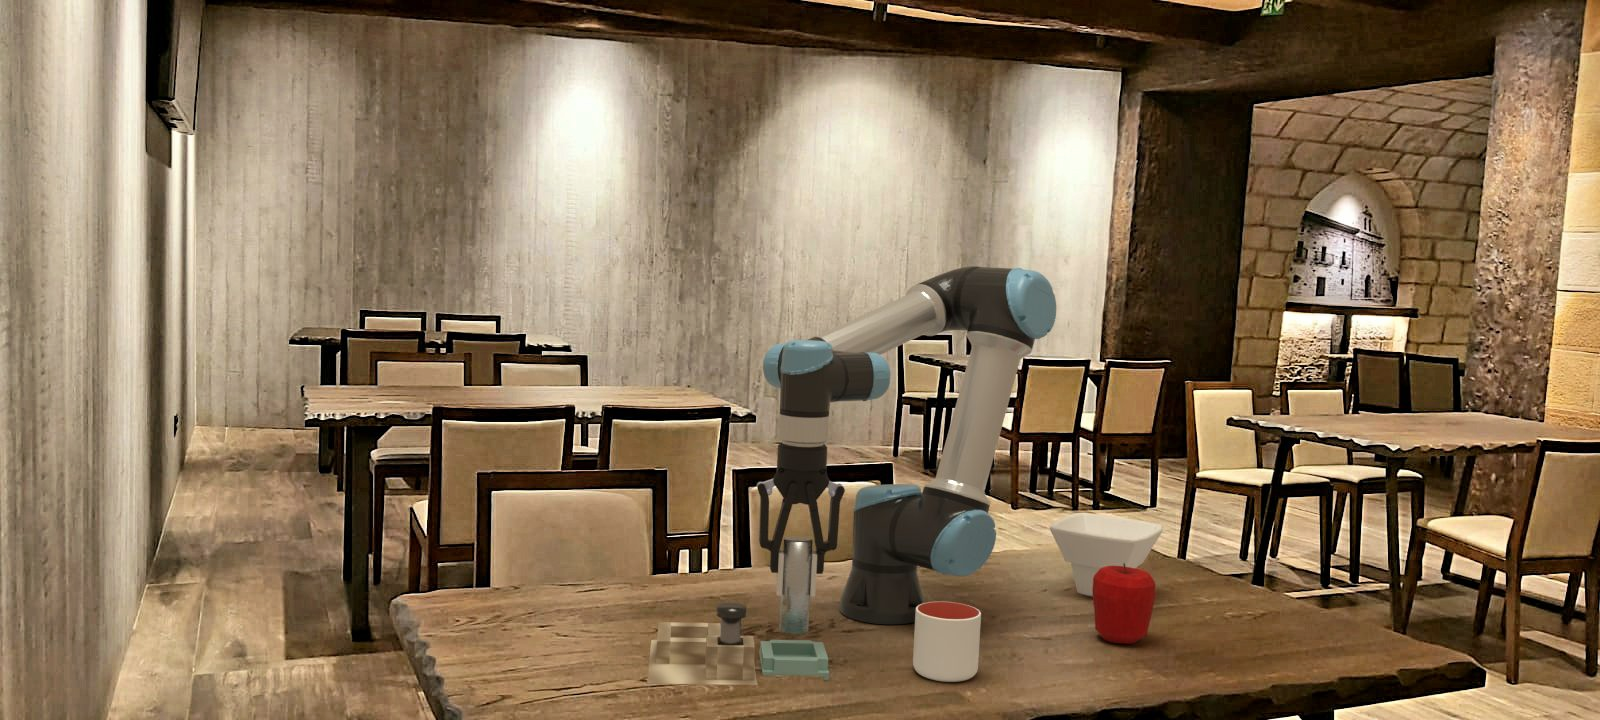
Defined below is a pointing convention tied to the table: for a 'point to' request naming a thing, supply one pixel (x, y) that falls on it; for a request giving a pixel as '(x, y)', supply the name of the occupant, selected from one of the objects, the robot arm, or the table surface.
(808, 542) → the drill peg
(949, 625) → the cup
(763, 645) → the tray
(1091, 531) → the bowl
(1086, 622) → the table surface
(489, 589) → the table surface
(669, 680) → the socket block
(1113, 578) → the apple
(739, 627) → the black mushroom head peg
